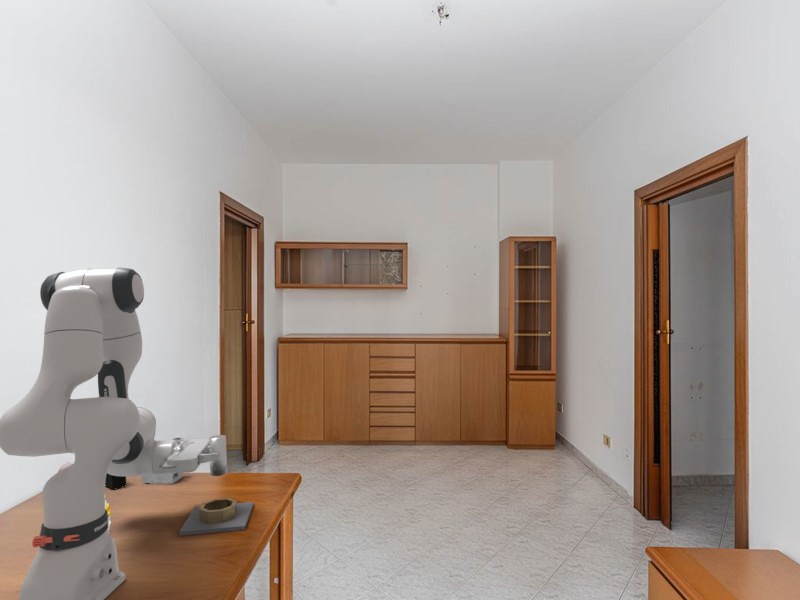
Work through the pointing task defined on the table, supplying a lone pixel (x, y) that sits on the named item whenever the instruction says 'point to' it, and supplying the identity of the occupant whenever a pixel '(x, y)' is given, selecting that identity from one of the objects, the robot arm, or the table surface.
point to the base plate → (234, 524)
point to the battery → (115, 481)
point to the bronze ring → (218, 510)
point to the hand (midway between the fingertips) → (221, 453)
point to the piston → (220, 465)
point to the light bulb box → (161, 478)
